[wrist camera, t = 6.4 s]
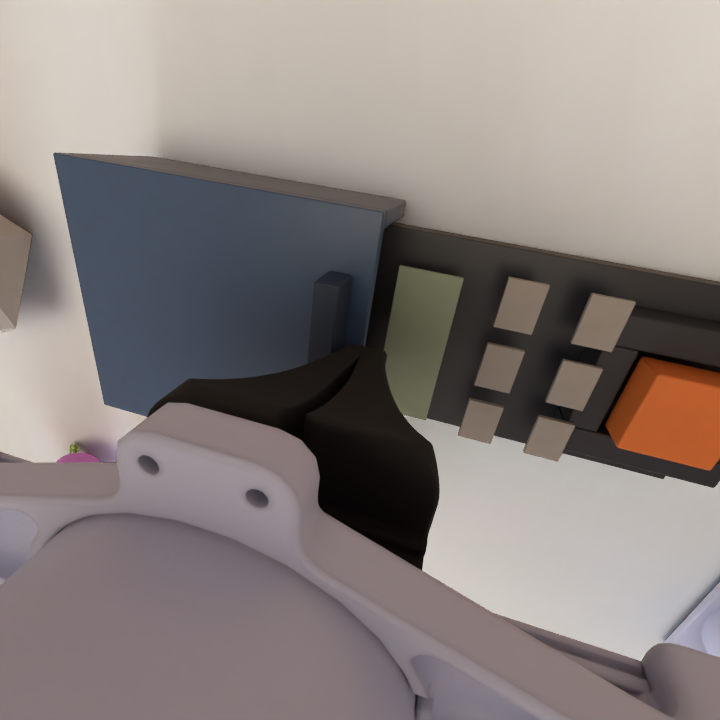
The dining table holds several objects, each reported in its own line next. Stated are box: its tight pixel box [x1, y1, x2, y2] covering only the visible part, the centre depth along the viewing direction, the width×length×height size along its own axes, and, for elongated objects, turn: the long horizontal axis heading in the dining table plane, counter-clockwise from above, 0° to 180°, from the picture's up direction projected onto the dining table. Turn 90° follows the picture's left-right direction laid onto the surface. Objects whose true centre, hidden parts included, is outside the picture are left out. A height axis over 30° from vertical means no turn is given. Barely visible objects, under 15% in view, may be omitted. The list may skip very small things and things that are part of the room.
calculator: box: [365, 223, 720, 488], centre depth 16 cm, size 16×9×2 cm, turn 82°
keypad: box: [384, 265, 636, 461], centre depth 15 cm, size 8×7×1 cm
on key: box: [605, 356, 720, 470], centre depth 14 cm, size 3×3×2 cm
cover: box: [53, 153, 406, 417], centre depth 16 cm, size 12×10×6 cm
